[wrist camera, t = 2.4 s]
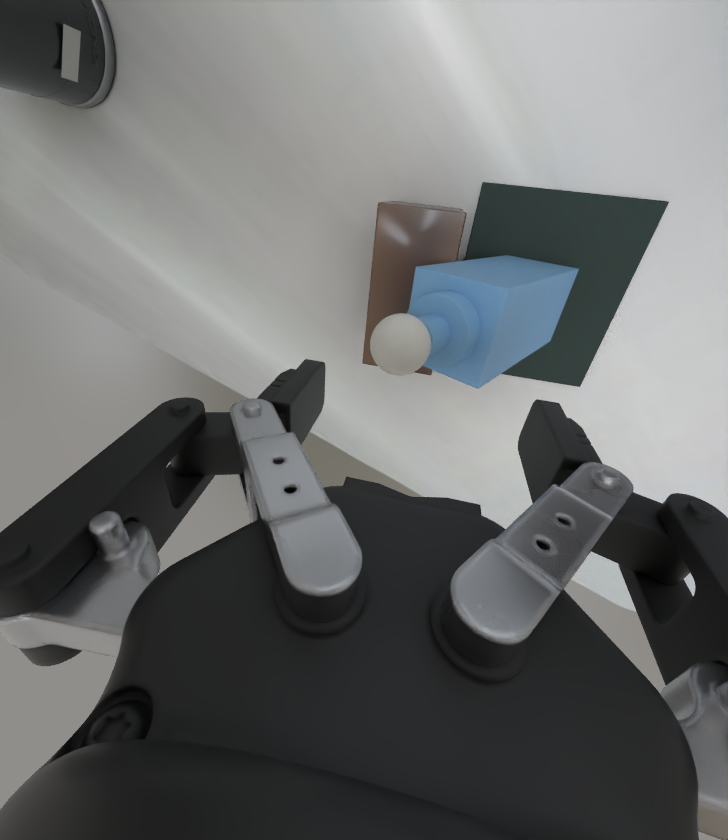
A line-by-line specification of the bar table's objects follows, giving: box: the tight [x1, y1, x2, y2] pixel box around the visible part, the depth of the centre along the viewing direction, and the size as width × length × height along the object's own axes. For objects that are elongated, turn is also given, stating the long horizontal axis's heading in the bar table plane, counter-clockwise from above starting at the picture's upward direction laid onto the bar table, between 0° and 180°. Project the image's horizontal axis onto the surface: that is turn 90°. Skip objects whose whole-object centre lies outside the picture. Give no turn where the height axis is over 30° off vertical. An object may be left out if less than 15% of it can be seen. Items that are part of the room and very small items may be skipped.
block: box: [363, 201, 466, 375], centre depth 30 cm, size 6×12×8 cm, turn 175°
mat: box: [465, 182, 669, 387], centre depth 32 cm, size 14×16×1 cm
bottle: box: [370, 255, 579, 389], centre depth 25 cm, size 14×6×19 cm, turn 85°
